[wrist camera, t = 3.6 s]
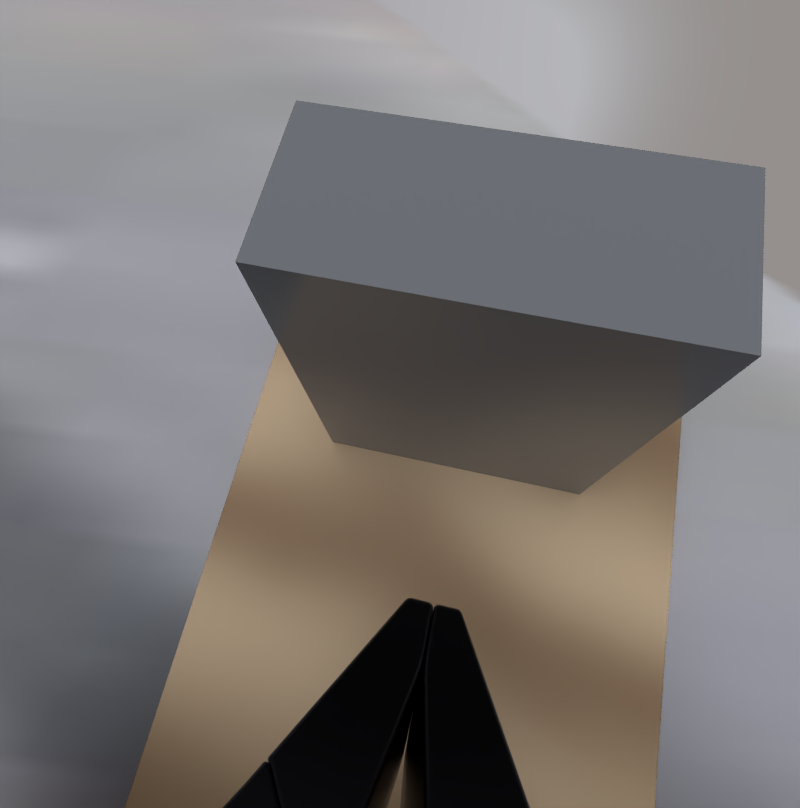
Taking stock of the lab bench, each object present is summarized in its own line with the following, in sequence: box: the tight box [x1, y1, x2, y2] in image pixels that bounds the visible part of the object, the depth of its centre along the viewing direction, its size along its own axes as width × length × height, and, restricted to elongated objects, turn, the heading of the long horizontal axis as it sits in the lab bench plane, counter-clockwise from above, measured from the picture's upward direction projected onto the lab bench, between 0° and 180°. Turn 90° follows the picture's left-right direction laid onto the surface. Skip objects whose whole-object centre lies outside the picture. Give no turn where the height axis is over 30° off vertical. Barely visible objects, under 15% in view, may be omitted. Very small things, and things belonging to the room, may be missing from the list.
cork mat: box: [125, 342, 682, 808], centre depth 15 cm, size 16×12×1 cm
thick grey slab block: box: [236, 101, 765, 494], centre depth 12 cm, size 3×7×9 cm, turn 77°
